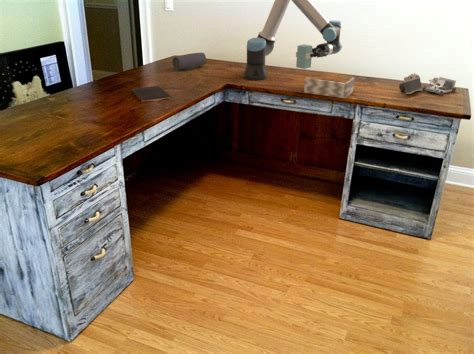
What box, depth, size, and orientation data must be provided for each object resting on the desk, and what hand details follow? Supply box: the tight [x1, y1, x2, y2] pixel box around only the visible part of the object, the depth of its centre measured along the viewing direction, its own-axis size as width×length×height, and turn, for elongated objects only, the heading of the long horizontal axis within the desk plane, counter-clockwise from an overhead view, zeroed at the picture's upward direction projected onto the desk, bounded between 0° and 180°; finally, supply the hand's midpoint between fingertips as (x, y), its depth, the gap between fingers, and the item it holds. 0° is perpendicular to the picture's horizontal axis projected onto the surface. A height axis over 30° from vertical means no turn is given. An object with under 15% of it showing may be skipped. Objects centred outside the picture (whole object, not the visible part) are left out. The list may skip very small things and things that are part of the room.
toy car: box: [421, 76, 457, 97], centre depth 250 cm, size 18×10×12 cm
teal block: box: [295, 44, 313, 70], centre depth 248 cm, size 6×6×12 cm
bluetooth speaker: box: [172, 52, 207, 71], centre depth 296 cm, size 23×9×10 cm, turn 133°
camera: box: [398, 72, 423, 95], centre depth 249 cm, size 9×16×10 cm, turn 135°
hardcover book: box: [131, 85, 172, 101], centre depth 240 cm, size 16×23×2 cm
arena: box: [303, 76, 356, 99], centre depth 248 cm, size 24×16×8 cm, turn 62°
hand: (301, 55), depth 246 cm, fingers closed on teal block, 6 cm apart
